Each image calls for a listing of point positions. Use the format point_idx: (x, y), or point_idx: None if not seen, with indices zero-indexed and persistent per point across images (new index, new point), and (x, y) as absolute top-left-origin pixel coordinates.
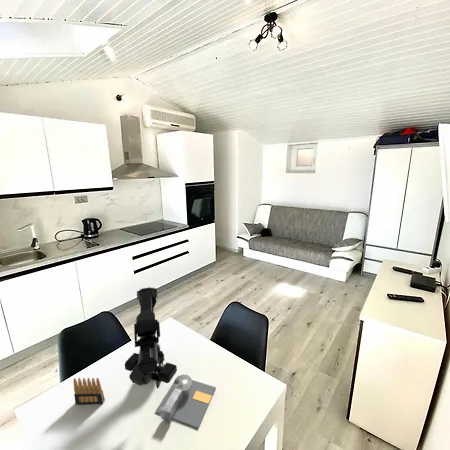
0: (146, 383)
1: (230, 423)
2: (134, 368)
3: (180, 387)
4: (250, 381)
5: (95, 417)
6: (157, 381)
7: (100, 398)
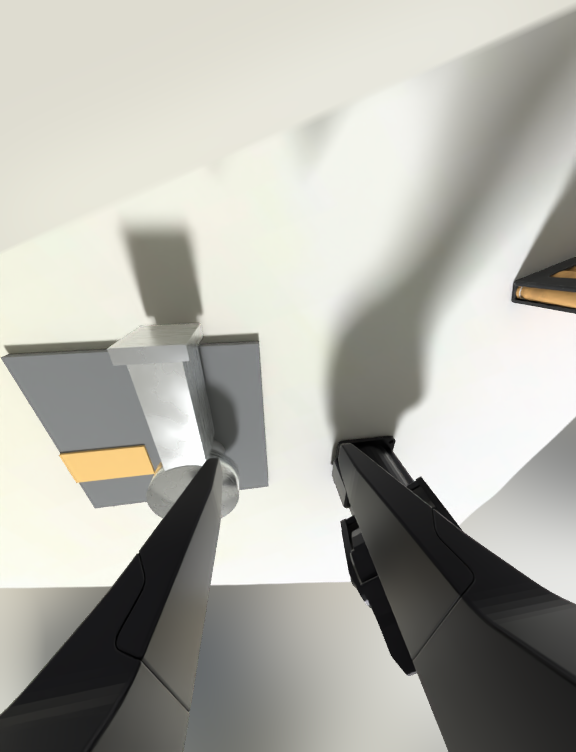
0: (345, 455)
1: None
2: None
3: (182, 476)
4: (3, 561)
5: (524, 211)
6: (103, 627)
7: (557, 284)
